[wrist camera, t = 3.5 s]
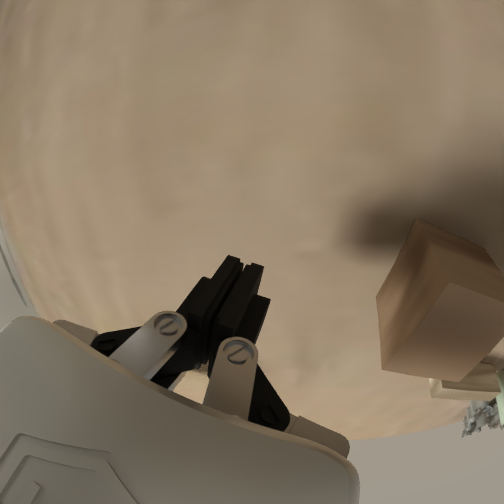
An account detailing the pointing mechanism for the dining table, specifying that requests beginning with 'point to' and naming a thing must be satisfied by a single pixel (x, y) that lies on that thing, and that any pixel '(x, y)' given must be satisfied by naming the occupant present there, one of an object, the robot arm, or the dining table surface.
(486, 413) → the grey jagged open ring
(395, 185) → the dining table surface
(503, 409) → the goal posts
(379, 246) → the dining table surface
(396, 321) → the walnut block
